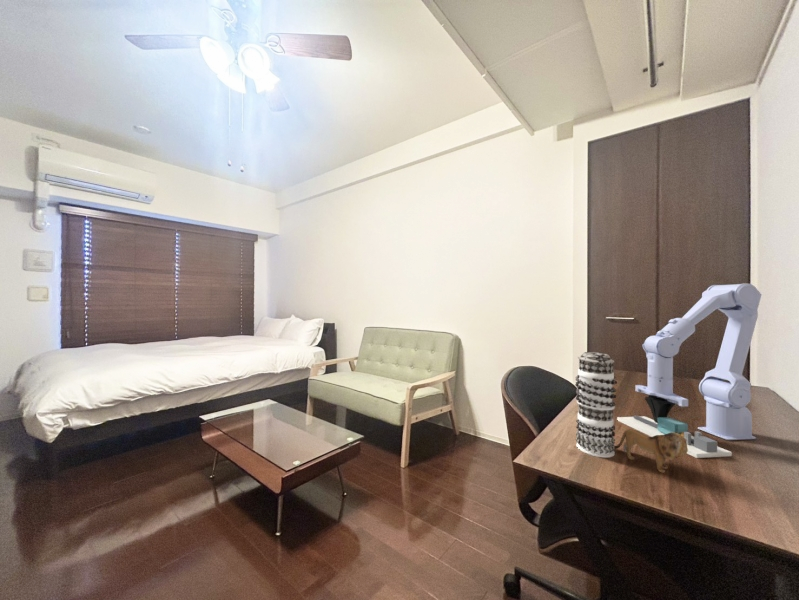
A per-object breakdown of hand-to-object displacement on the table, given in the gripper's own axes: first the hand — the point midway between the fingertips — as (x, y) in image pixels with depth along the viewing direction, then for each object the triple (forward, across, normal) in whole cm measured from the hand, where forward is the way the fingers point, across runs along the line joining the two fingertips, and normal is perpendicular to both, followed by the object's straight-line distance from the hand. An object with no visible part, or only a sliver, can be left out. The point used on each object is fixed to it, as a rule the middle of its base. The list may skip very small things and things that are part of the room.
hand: (659, 422), depth 91 cm
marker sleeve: (+2, +4, 0) cm, 4 cm away
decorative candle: (+3, +8, -27) cm, 28 cm away
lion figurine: (+3, +15, -19) cm, 24 cm away
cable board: (+3, +3, 0) cm, 4 cm away
